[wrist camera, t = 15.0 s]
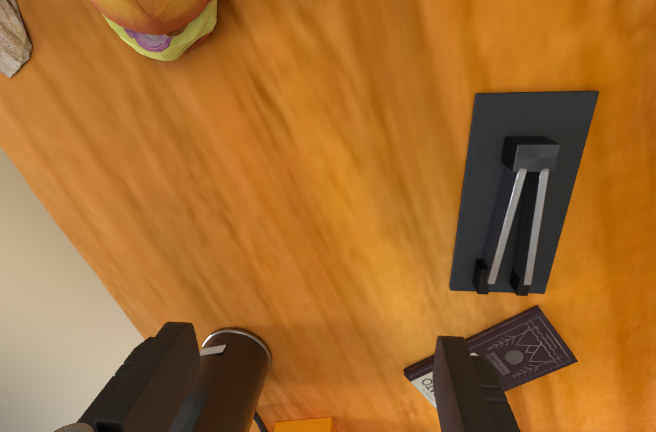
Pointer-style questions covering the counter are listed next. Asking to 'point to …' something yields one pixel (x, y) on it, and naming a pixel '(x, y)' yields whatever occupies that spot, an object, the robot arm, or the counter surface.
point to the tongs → (532, 173)
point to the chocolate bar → (508, 352)
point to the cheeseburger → (160, 24)
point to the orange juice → (306, 425)
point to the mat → (485, 175)
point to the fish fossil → (12, 39)
